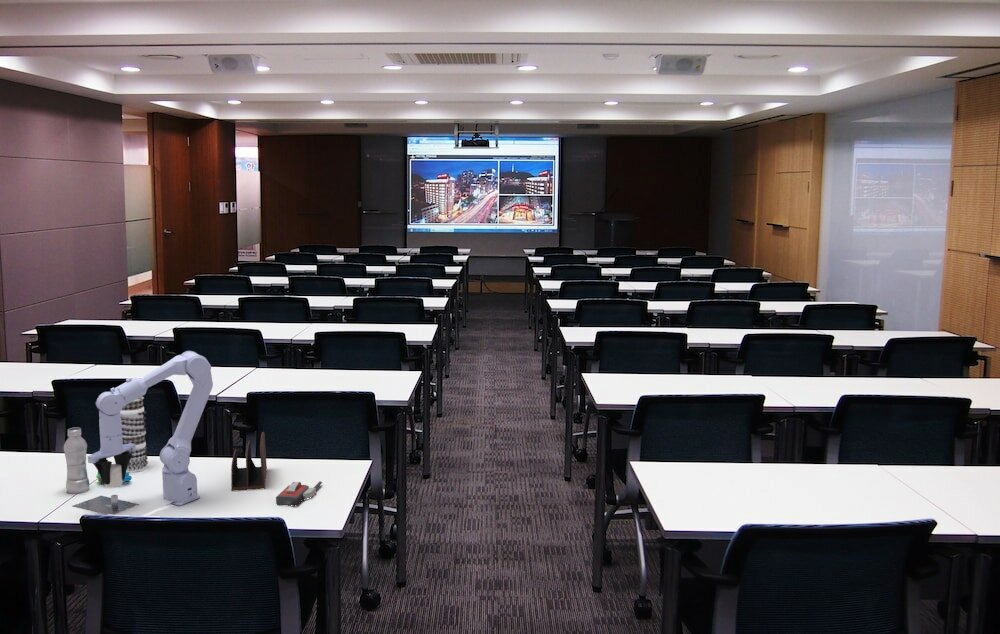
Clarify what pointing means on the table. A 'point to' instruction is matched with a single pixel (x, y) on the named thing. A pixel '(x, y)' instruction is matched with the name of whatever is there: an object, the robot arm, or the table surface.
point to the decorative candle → (135, 433)
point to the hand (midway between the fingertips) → (113, 481)
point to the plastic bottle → (76, 462)
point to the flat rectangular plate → (105, 505)
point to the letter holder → (249, 470)
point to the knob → (115, 476)
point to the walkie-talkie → (295, 493)
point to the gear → (127, 479)
